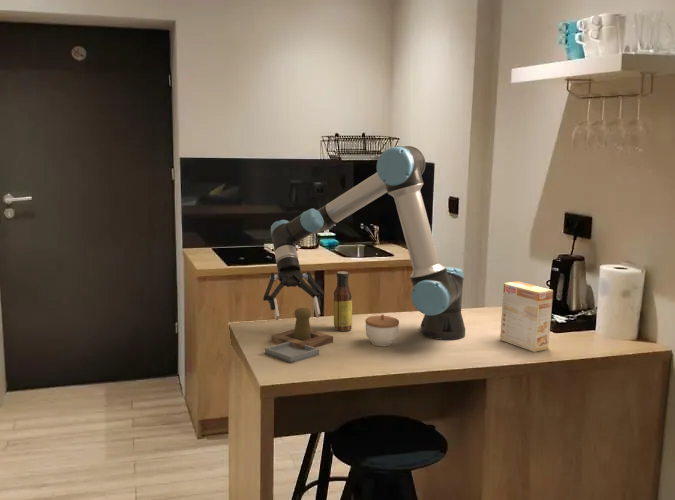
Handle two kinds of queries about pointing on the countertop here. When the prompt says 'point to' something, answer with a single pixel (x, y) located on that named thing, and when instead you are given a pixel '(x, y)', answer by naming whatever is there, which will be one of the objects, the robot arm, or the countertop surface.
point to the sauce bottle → (342, 303)
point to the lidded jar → (381, 329)
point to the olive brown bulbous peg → (302, 324)
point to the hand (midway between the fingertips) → (298, 316)
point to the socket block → (315, 340)
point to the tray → (291, 352)
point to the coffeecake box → (526, 316)
